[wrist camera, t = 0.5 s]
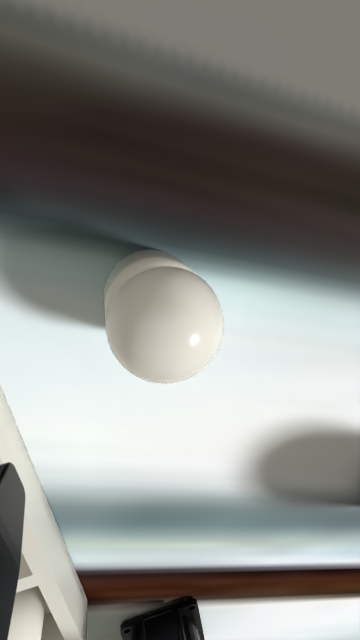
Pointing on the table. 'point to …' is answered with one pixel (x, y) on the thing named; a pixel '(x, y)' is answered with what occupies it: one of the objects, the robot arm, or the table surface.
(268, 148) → the table surface
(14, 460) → the carton
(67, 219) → the table surface
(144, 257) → the egg
